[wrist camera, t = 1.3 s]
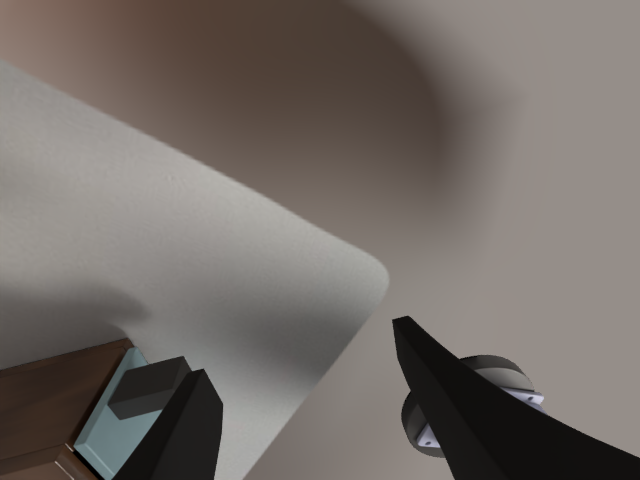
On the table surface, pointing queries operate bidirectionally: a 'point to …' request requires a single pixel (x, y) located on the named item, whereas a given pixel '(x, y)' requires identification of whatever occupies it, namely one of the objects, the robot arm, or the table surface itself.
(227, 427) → the table surface
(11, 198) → the table surface
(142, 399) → the glass door
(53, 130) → the table surface
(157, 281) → the table surface
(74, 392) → the cabinet
